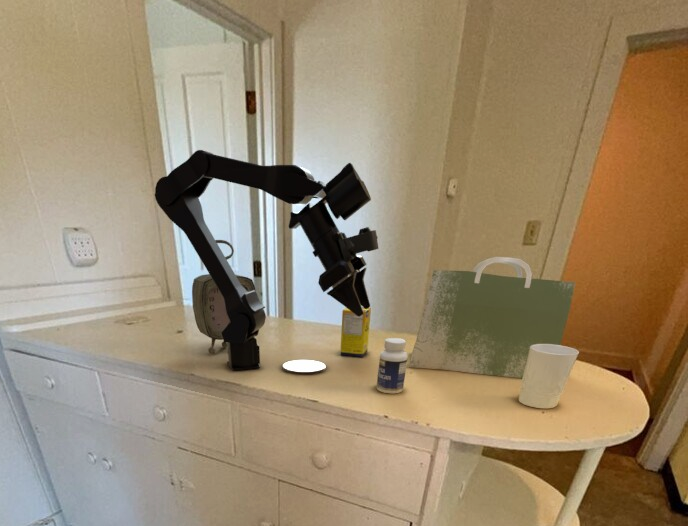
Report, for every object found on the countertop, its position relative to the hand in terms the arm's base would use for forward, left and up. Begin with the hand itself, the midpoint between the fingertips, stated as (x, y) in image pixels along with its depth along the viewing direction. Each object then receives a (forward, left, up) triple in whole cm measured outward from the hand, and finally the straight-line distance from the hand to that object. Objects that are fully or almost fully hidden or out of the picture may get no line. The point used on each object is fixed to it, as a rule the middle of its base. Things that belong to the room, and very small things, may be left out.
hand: (364, 311), depth 86 cm
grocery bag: (+31, -2, -14) cm, 34 cm away
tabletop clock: (-22, +33, -14) cm, 42 cm away
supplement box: (+8, +18, -14) cm, 24 cm away
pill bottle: (+2, -10, -14) cm, 17 cm away
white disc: (-9, +10, -13) cm, 19 cm away
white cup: (+25, -26, -14) cm, 38 cm away
